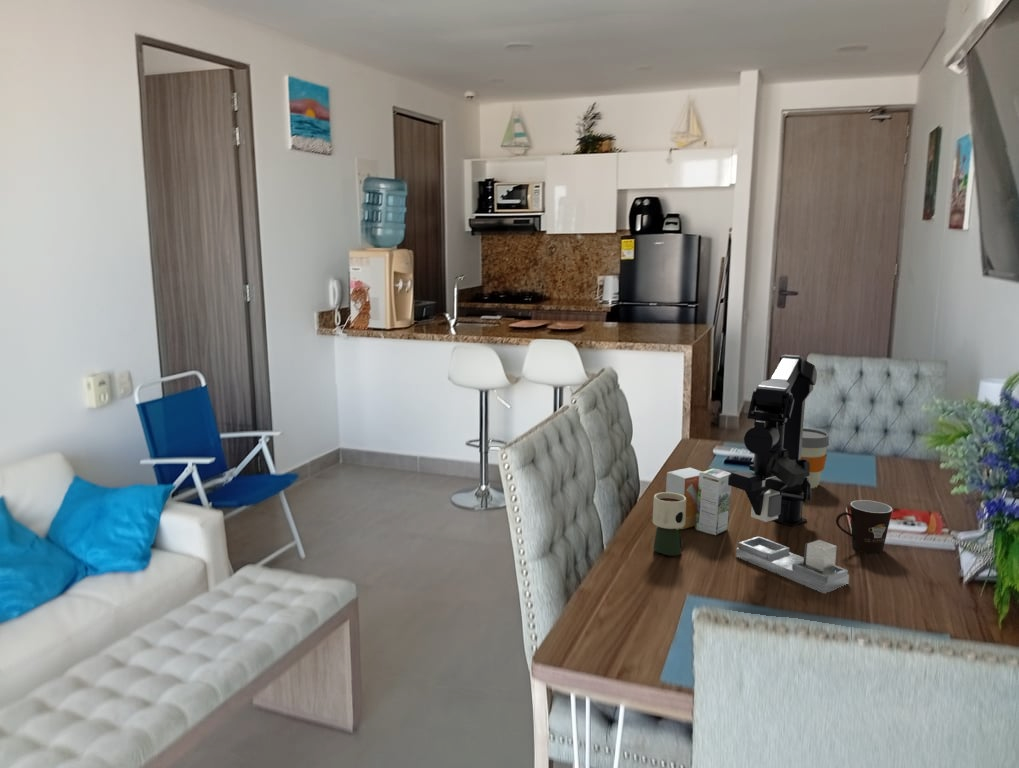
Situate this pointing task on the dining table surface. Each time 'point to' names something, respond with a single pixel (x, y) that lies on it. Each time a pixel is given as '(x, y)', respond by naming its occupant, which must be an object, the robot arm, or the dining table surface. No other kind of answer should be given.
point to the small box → (685, 491)
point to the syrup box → (713, 502)
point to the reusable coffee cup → (814, 453)
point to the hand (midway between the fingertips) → (764, 513)
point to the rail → (797, 562)
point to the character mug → (668, 522)
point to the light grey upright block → (769, 506)
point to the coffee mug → (868, 525)
